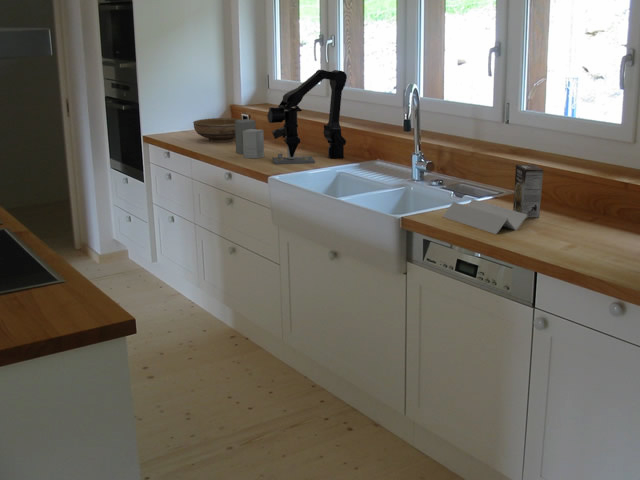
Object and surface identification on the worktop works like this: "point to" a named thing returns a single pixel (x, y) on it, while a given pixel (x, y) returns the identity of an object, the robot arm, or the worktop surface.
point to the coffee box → (528, 189)
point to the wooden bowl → (216, 129)
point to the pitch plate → (292, 160)
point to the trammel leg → (289, 154)
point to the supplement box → (253, 143)
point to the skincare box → (239, 128)
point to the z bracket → (485, 216)
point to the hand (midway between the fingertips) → (291, 156)
